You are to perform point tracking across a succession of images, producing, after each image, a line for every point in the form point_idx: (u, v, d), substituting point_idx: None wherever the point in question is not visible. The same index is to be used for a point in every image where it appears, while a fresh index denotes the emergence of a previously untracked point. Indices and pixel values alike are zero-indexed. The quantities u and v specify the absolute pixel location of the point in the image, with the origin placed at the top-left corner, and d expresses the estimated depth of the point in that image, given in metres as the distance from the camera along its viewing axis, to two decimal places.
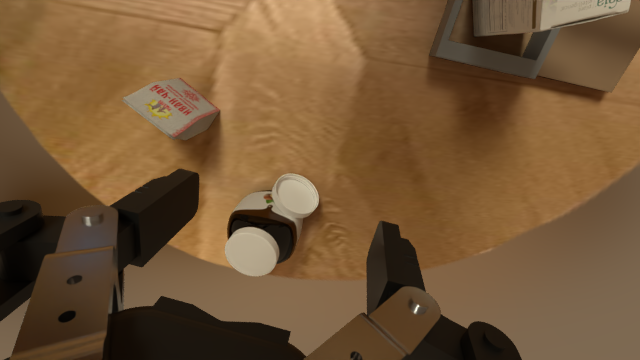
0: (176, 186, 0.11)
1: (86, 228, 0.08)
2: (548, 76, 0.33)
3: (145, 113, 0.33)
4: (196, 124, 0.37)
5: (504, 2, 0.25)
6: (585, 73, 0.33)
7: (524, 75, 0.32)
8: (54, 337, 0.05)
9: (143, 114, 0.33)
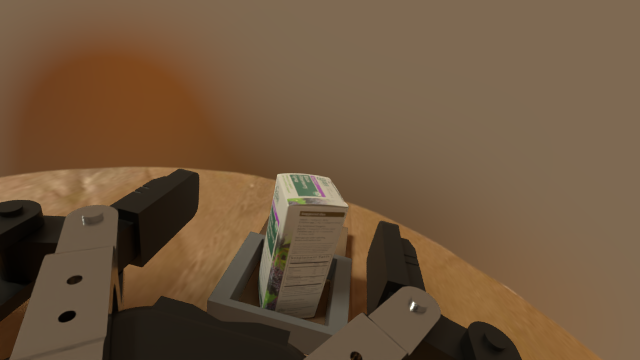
0: (176, 186, 0.11)
1: (86, 228, 0.08)
2: None
3: None
4: None
5: (308, 259, 0.27)
6: None
7: (350, 265, 0.35)
8: (55, 336, 0.05)
9: None
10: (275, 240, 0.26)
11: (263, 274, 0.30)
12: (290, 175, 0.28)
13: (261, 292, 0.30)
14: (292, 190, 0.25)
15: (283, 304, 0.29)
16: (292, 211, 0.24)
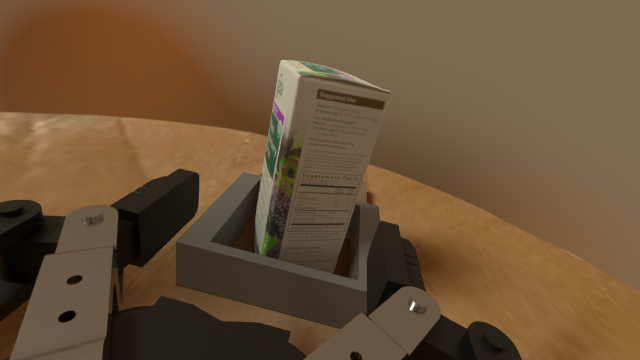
0: (176, 186, 0.11)
1: (86, 228, 0.08)
2: None
3: None
4: None
5: (327, 179, 0.18)
6: None
7: (377, 212, 0.26)
8: (55, 336, 0.05)
9: None
10: (278, 149, 0.17)
11: (260, 214, 0.21)
12: (299, 61, 0.19)
13: (258, 241, 0.22)
14: (304, 68, 0.17)
15: (290, 254, 0.20)
16: (305, 87, 0.15)
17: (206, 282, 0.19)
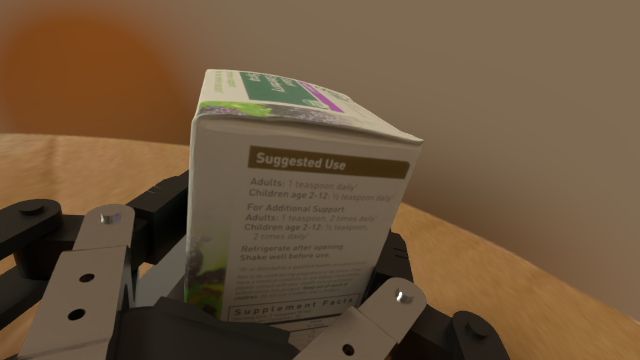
0: (188, 186, 0.11)
1: (105, 227, 0.08)
2: None
3: None
4: None
5: (290, 311, 0.09)
6: None
7: None
8: (63, 334, 0.05)
9: None
10: None
11: None
12: (241, 72, 0.10)
13: None
14: (233, 89, 0.08)
15: None
16: (216, 145, 0.06)
17: None
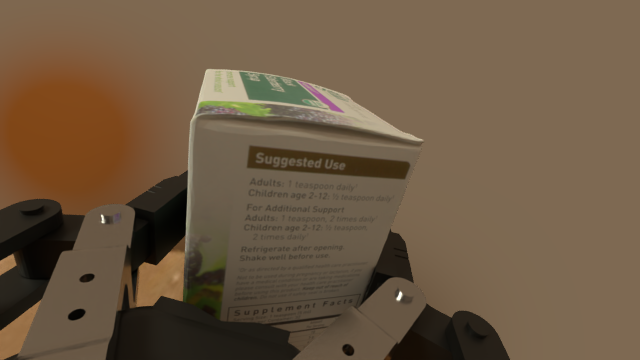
0: None
1: (105, 227, 0.08)
2: None
3: None
4: None
5: (290, 312, 0.09)
6: None
7: None
8: (63, 334, 0.05)
9: None
10: None
11: None
12: (241, 72, 0.10)
13: None
14: (232, 89, 0.08)
15: None
16: (215, 145, 0.06)
17: None
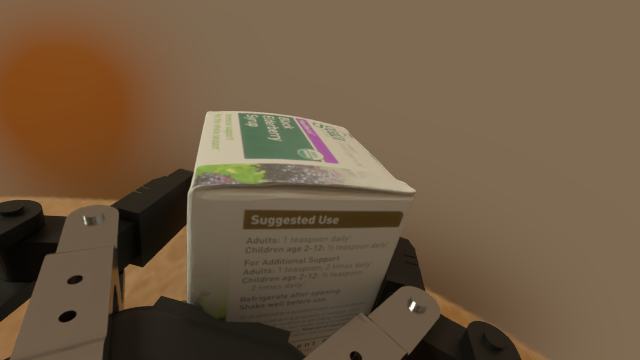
0: (177, 186, 0.11)
1: (87, 228, 0.08)
2: None
3: None
4: None
5: None
6: None
7: None
8: (54, 336, 0.05)
9: None
10: None
11: None
12: (240, 114, 0.10)
13: None
14: (229, 143, 0.08)
15: None
16: (212, 212, 0.06)
17: None
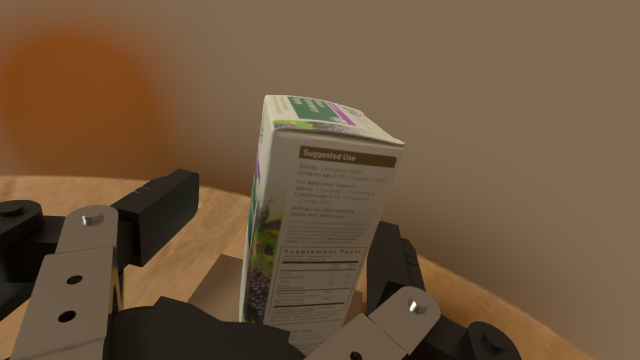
0: (176, 186, 0.11)
1: (86, 228, 0.08)
2: None
3: None
4: None
5: (319, 254, 0.14)
6: None
7: None
8: (55, 336, 0.05)
9: None
10: (254, 215, 0.13)
11: (242, 281, 0.17)
12: (288, 97, 0.15)
13: (239, 313, 0.17)
14: (287, 111, 0.12)
15: None
16: (282, 144, 0.11)
17: None
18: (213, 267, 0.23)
